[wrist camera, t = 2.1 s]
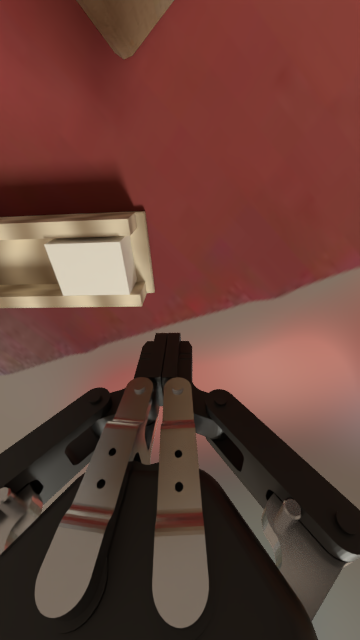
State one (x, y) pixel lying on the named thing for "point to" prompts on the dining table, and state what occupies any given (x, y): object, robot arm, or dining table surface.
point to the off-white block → (93, 265)
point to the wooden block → (125, 21)
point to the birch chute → (36, 269)
